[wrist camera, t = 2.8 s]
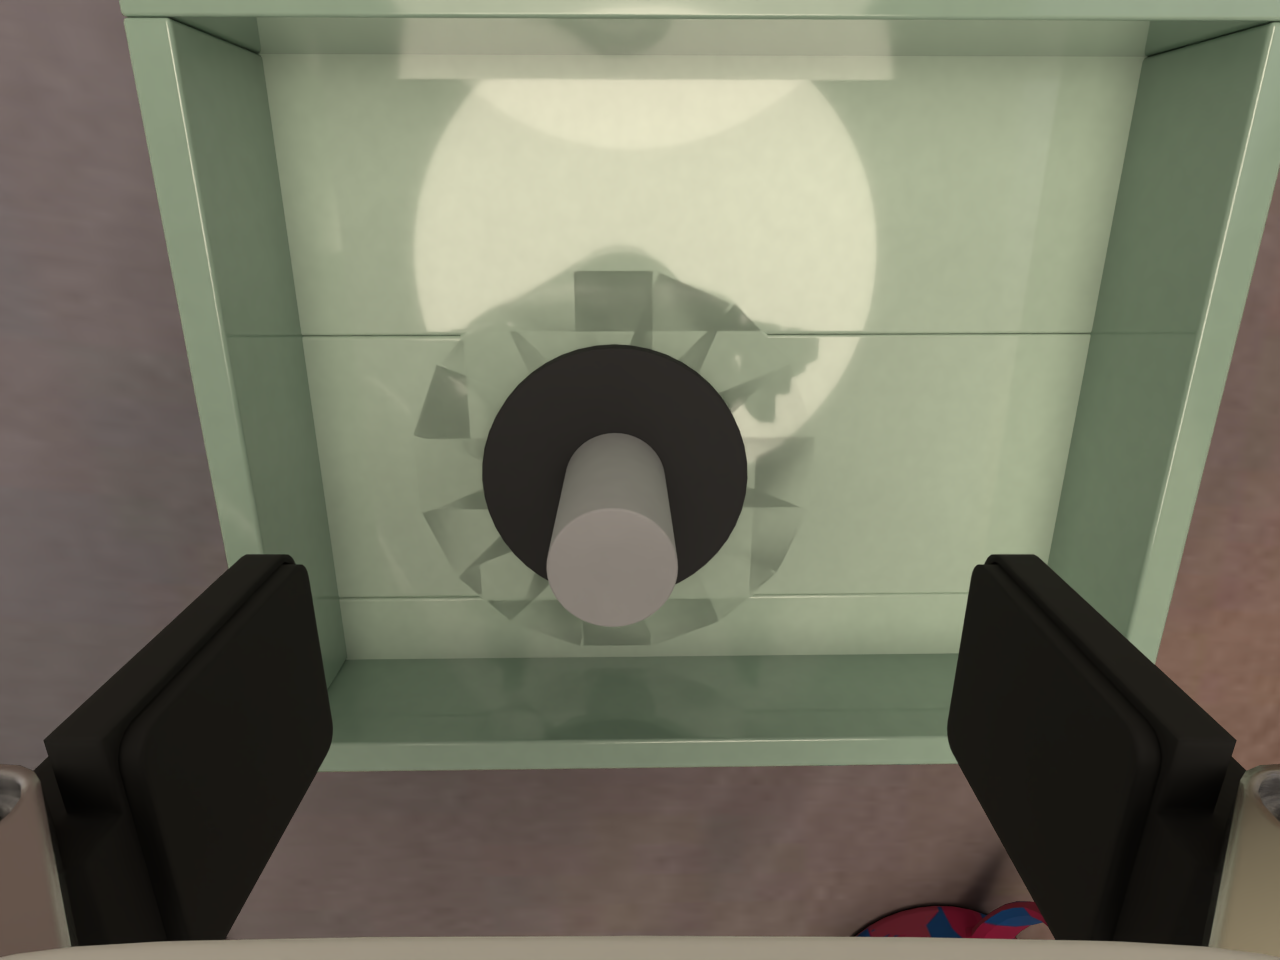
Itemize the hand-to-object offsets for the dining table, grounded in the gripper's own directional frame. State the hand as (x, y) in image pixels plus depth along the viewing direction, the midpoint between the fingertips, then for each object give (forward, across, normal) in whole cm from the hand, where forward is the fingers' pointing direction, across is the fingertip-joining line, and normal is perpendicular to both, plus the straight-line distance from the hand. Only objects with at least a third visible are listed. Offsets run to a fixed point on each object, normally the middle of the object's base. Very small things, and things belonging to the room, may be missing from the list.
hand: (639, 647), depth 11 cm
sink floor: (+10, +1, +1) cm, 10 cm away
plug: (+10, -1, -1) cm, 10 cm away
